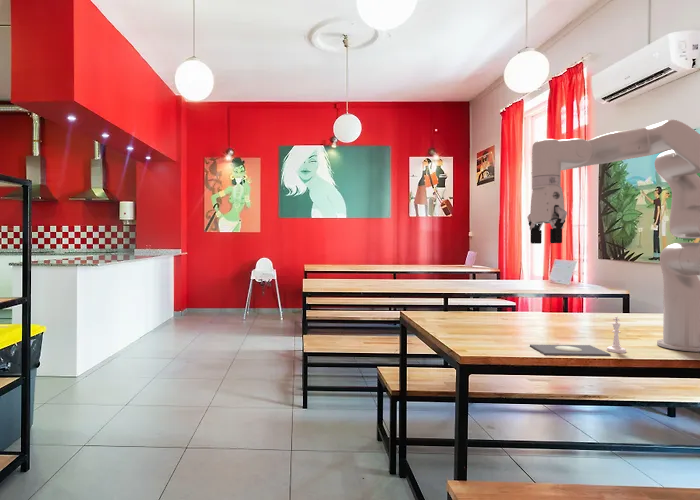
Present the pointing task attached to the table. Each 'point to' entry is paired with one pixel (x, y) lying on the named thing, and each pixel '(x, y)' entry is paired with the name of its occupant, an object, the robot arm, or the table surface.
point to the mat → (569, 350)
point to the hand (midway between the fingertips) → (545, 243)
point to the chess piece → (616, 339)
